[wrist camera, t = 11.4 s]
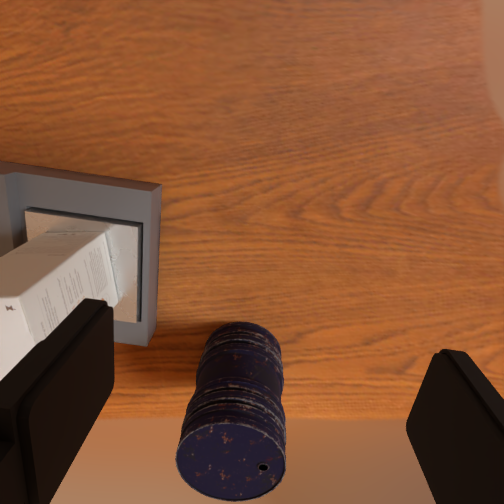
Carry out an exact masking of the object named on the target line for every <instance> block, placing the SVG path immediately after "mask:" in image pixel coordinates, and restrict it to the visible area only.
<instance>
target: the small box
mask: <svg viewBox="0 0 504 504" xmlns="http://www.w3.org/2000/svg"><path fill="white" fill-rule="evenodd" d="M85 298H91V299H98V300H105V301H107V303H108V306H111V307H113V308H114V307H115V306H116V304H117V303H118V297H117V292H116V287H115V282H114V277H113V271H112V266H111V261H110V256H109V251H108V246H107V241H106V236H105V233H104V232H63V233H42V234H40V235H38V236H37V237H35V238H33V239H32V240H30V241H28V242H26V243H25V244H23V245H21V246H19V247H17V248H16V249H14V250H12V251H10V252H9V253H7V254H5V255H4V256H2V257H0V381H1V380H2V379H3V378H4V377H5V376H6V375H7V374H8V373H9V372H10V371H11V370H12V369H13V367H14V366H15V365H16V364H17V363H18V362H19V361H20V360H21V359H22V358H23V357H24V356H25V355H26V354H27V353H28V352H29V351H30V350H31V349H32V348H33V347H34V346H35V345H36V344H37V343H39V342H40V341H42V340H44V339H45V338H46V337H47V336H48V335H49V334H50V333H51V332H52V331H53V330H54V329H55V328H56V327H57V326H58V325H59V324H60V323H61V322H62V321H63V320H64V319H65V318H66V317H67V316H68V315H69V314H70V313H71V312H72V311H73V309H74V308H75V307H76V306H77V305H78V304H79V303H80V302H81V301H82V300H83V299H85Z"/></svg>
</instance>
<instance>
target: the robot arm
mask: <svg viewBox="0 0 504 504" xmlns="http://www.w3.org/2000/svg"><path fill="white" fill-rule="evenodd" d="M113 386H114V311H113V307H111V306H108V303H107V301H105V300H98V299H91V298H85V299H83V300H82V301H81V302H80V303H79V304H78V305H77V306H76V307H75V308H74V309H73V311H72V312H71V313H70V314H69V315H68V316H67V317H66V318H65V319H64V320H63V321H62V322H61V323H60V324H59V325H58V326H57V327H56V328H55V329H54V330H53V331H52V332H51V333H50V334H49V335H48V336H47V337H46V338H45V339H44V340H42V341H40V342H39V343H37V344H36V345H35V346H34V347H33V348H32V349H31V350H30V351H29V352H28V353H27V354H26V355H25V356H24V357H23V358H22V359H21V360H20V361H19V362H18V363H17V364H16V365H15V366H14V367H13V369H12V370H11V371H10V372H9V373H8V374H7V375H6V376H5V377H4V378H3V379H2V380H1V381H0V504H50V502H51V500H52V498H53V496H54V495H55V493H56V491H57V489H58V487H59V486H60V484H61V482H62V480H63V478H64V477H65V475H66V473H67V471H68V469H69V467H70V466H71V464H72V462H73V460H74V459H75V457H76V455H77V453H78V451H79V449H80V447H81V446H82V444H83V442H84V441H85V439H86V437H87V435H88V433H89V431H90V430H91V428H92V426H93V424H94V422H95V421H96V419H97V417H98V415H99V414H100V412H101V410H102V408H103V406H104V405H105V403H106V401H107V399H108V397H109V396H110V394H111V392H112V389H113ZM406 431H407V435H408V437H409V440H410V442H411V445H412V447H413V449H414V452H415V454H416V457H417V459H418V461H419V464H420V466H421V469H422V471H423V473H424V476H425V478H426V480H427V483H428V485H429V488H430V490H431V492H432V495H433V497H434V500H435V502H436V504H504V399H503V398H502V397H501V396H500V394H499V393H498V392H497V390H496V389H495V388H494V387H493V385H492V384H491V383H490V382H489V380H488V379H487V378H486V377H485V375H484V374H483V373H482V372H481V370H480V369H479V368H478V367H477V365H476V364H475V363H474V362H473V360H472V359H471V358H470V357H469V355H468V354H467V353H466V352H463V351H456V350H449V349H442V350H441V351H440V352H439V353H435V354H434V355H433V357H432V360H431V362H430V365H429V367H428V370H427V372H426V375H425V377H424V380H423V382H422V384H421V387H420V389H419V392H418V394H417V397H416V399H415V402H414V404H413V407H412V409H411V412H410V414H409V417H408V419H407V422H406Z"/></svg>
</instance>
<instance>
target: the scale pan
mask: <svg viewBox="0 0 504 504" xmlns="http://www.w3.org/2000/svg"><path fill="white" fill-rule="evenodd" d="M25 220H26V229H27V238H28V241H30V240H32V239H33V238H35V237H37V236H38V235H40V234H42V233H63V232H104V233H105V236H106V241H107V246H108V251H109V256H110V261H111V266H112V271H113V277H114V282H115V287H116V292H117V297H118V303H117V304H116V306H115V307H114V308H113V311H114V320H117V321H124V322H131V323H137V321H138V320H139V318H140V317H141V315H142V270H143V222H136V221H129V220H122V219H115V218H108V217H101V216H94V215H87V214H80V213H73V212H66V211H59V210H52V209H45V208H38V207H33V208H31V209H28V210H26V211H25Z"/></svg>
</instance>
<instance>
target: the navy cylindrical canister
mask: <svg viewBox="0 0 504 504" xmlns="http://www.w3.org/2000/svg"><path fill="white" fill-rule="evenodd" d="M283 386H284V378H283V365H282V361H281V349H280V346H279V343H278V341H277V340H276V338H275V337H274V336H273V334H272V333H270V332H269V331H268V330H267V329H265V328H263V327H261V326H259V325H257V324H254V323H249V322H233V323H229V324H226V325H223V326H221V327H220V328H218V329H216V330H215V331H214V332H213V333H212V334H211V335H210V337H209V338H208V340H207V342H206V345H205V349H204V352H203V354H202V356H201V359H200V363H199V366H198V369H197V373H196V390H195V393H194V395H193V396H192V398H191V400H190V402H189V404H188V406H187V409H186V415H185V418H184V421H183V425H182V430H181V437H180V442H179V445H178V448H177V452H176V459H175V460H176V466H177V469H178V472H179V473H180V475H181V477H182V478H183V480H184V481H185V482H186V483H187V484H188V485H189V486H190V487H191V488H193V489H194V490H196V491H197V492H199V493H201V494H203V495H205V496H208V497H211V498H214V499H218V500H223V501H233V502H237V501H248V500H253V499H256V498H259V497H262V496H264V495H266V494H268V493H269V492H271V491H272V490H274V489H275V488H276V487H277V486H278V485H279V484H280V482H281V481H282V479H283V477H284V475H285V471H286V455H285V445H286V428H285V420H286V419H285V413H284V410H283V406H282V404H281V394H282V391H283Z"/></svg>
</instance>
